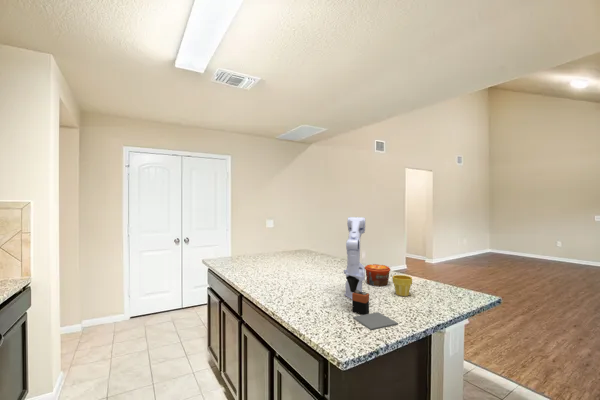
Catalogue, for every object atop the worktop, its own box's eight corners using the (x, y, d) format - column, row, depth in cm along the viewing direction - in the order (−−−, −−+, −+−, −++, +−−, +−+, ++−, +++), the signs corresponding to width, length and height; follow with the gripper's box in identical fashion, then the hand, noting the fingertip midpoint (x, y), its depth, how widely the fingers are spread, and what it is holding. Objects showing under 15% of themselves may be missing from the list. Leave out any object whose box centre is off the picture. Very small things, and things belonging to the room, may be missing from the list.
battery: (356, 309, 137) (356, 288, 137) (369, 312, 133) (369, 291, 133) (351, 312, 134) (351, 291, 134) (365, 315, 129) (365, 293, 130)
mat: (352, 318, 127) (352, 316, 127) (378, 313, 132) (378, 312, 132) (370, 330, 115) (370, 328, 115) (398, 324, 120) (398, 323, 120)
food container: (393, 287, 173) (393, 269, 173) (367, 287, 173) (367, 269, 173) (386, 280, 189) (386, 264, 189) (362, 280, 189) (362, 263, 189)
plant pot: (394, 290, 167) (394, 273, 167) (413, 293, 161) (413, 276, 162) (390, 295, 158) (390, 277, 158) (410, 298, 153) (410, 280, 153)
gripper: (338, 261, 144) (338, 288, 144) (354, 267, 131) (354, 297, 131) (350, 260, 147) (350, 286, 147) (367, 266, 134) (367, 295, 133)
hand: (353, 291), depth 139 cm, fingers closed
